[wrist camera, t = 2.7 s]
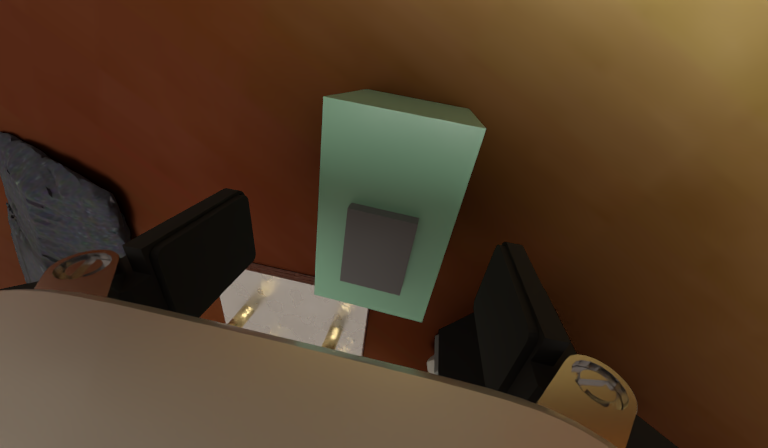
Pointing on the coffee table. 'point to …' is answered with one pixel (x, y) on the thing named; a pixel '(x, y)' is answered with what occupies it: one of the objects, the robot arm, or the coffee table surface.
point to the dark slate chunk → (55, 209)
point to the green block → (389, 197)
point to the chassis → (293, 310)
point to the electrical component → (458, 352)
